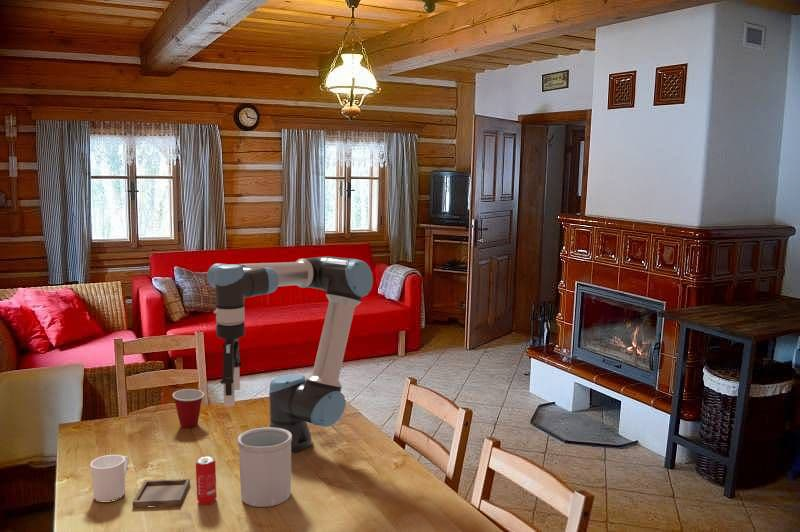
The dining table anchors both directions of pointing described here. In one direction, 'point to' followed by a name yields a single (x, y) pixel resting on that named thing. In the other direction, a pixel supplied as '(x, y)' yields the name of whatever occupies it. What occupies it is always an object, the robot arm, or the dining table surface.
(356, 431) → the dining table surface
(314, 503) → the dining table surface
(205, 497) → the beverage can
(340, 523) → the dining table surface
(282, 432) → the utensil holder
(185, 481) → the tray
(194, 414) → the plastic cup
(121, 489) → the mug
